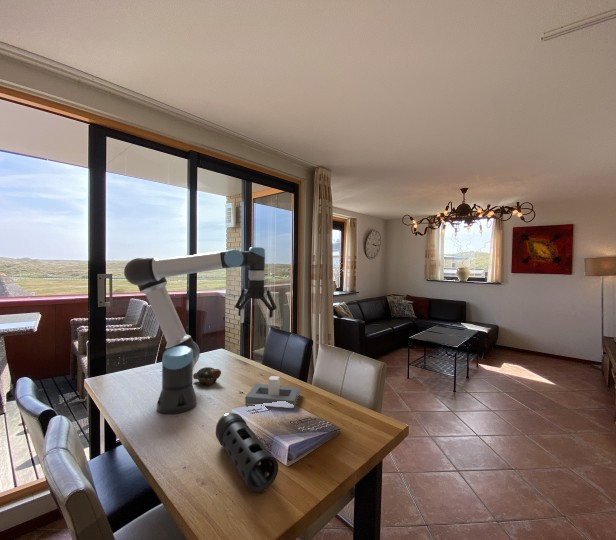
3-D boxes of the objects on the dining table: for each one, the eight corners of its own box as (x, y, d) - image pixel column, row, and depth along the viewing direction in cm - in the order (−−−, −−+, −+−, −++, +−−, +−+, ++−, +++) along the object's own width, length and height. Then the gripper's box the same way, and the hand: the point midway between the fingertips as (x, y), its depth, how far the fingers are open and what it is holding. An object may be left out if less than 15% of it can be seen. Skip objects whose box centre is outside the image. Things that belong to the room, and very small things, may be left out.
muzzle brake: (245, 503, 75) (246, 462, 75) (213, 445, 98) (213, 414, 98) (279, 488, 80) (280, 450, 80) (240, 436, 103) (241, 407, 103)
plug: (270, 395, 135) (271, 375, 134) (279, 396, 134) (279, 376, 134) (268, 399, 131) (268, 379, 130) (276, 400, 130) (277, 380, 130)
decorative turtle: (217, 388, 142) (216, 372, 142) (188, 387, 145) (187, 371, 144) (226, 379, 152) (225, 364, 151) (199, 379, 154) (197, 364, 154)
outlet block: (245, 404, 126) (245, 396, 126) (255, 390, 140) (255, 383, 140) (293, 409, 123) (293, 400, 123) (299, 394, 137) (299, 387, 137)
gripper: (228, 278, 141) (227, 323, 142) (279, 280, 137) (278, 326, 137) (235, 278, 149) (234, 320, 149) (283, 280, 144) (282, 323, 145)
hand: (255, 323), depth 143 cm, fingers open, 13 cm apart
